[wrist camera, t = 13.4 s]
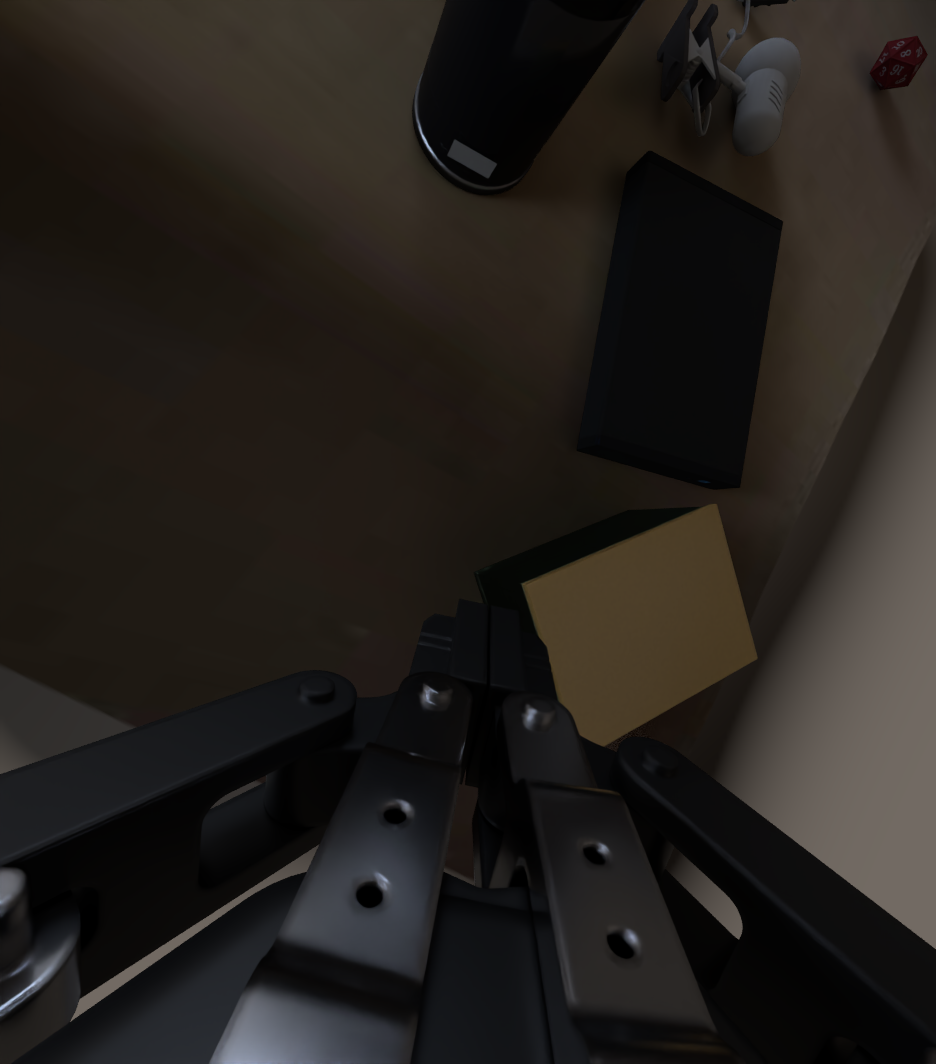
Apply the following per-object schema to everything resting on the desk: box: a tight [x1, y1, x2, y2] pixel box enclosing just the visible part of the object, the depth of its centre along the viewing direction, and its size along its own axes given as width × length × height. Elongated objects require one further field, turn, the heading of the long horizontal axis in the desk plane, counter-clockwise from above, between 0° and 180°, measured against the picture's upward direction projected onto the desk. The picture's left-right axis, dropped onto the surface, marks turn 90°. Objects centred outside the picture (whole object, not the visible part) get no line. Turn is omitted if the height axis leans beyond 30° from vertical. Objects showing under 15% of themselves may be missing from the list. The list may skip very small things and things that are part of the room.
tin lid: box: [522, 504, 757, 747], centre depth 34 cm, size 15×11×1 cm
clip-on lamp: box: [657, 0, 801, 156], centre depth 43 cm, size 12×6×18 cm
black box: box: [474, 507, 702, 702], centre depth 38 cm, size 14×11×8 cm
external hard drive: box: [577, 151, 783, 489], centre depth 43 cm, size 14×23×3 cm, turn 169°
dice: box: [870, 36, 928, 90], centre depth 51 cm, size 4×4×4 cm
